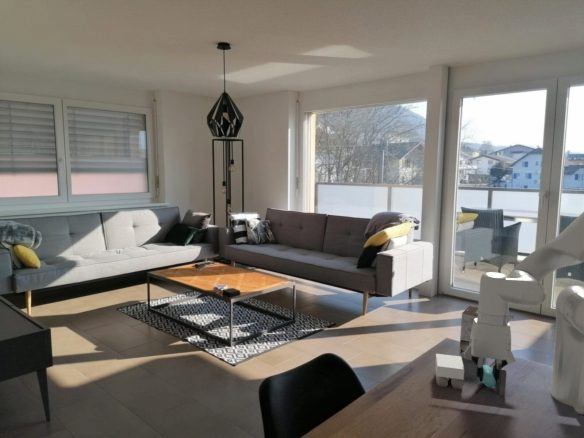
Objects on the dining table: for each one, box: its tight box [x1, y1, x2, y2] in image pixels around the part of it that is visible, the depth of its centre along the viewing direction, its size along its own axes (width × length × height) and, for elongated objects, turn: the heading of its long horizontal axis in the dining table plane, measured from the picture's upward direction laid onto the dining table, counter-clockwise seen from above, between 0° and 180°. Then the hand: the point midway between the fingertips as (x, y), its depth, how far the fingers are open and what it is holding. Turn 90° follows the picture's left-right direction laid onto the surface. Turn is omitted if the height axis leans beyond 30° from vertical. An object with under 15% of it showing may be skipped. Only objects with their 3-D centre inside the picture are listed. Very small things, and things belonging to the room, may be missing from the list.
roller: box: [482, 364, 496, 388], centre depth 120 cm, size 7×3×3 cm, turn 164°
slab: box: [434, 353, 465, 381], centre depth 123 cm, size 7×8×3 cm
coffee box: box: [458, 305, 478, 361], centre depth 139 cm, size 9×6×16 cm
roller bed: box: [434, 368, 507, 397], centre depth 122 cm, size 18×9×8 cm, turn 74°
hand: (487, 379), depth 121 cm, fingers closed on roller, 3 cm apart
